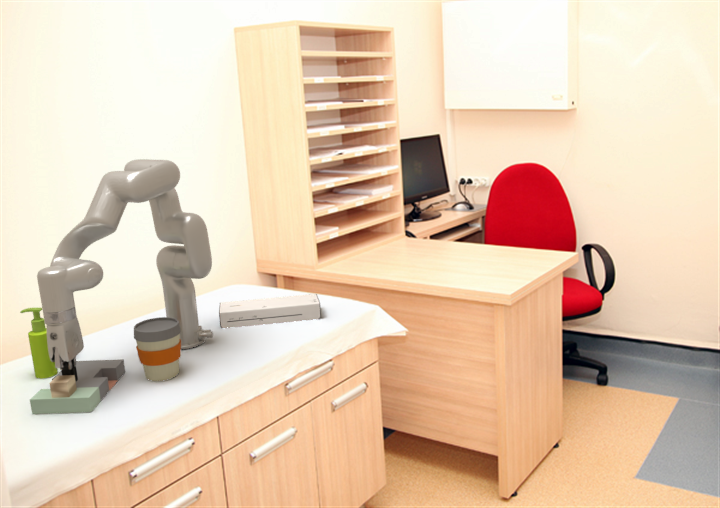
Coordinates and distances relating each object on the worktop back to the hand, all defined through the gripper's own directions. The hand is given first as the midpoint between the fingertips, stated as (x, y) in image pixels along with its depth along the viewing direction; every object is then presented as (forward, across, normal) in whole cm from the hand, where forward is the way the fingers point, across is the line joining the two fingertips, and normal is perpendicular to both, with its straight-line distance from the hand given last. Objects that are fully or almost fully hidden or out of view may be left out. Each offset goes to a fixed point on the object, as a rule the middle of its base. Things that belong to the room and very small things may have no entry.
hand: (70, 381), depth 170 cm
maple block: (+1, -4, 0) cm, 4 cm away
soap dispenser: (+6, +17, +16) cm, 24 cm away
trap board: (+5, +5, 0) cm, 7 cm away
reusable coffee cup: (+6, +14, -19) cm, 25 cm away
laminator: (+6, +60, -43) cm, 74 cm away
